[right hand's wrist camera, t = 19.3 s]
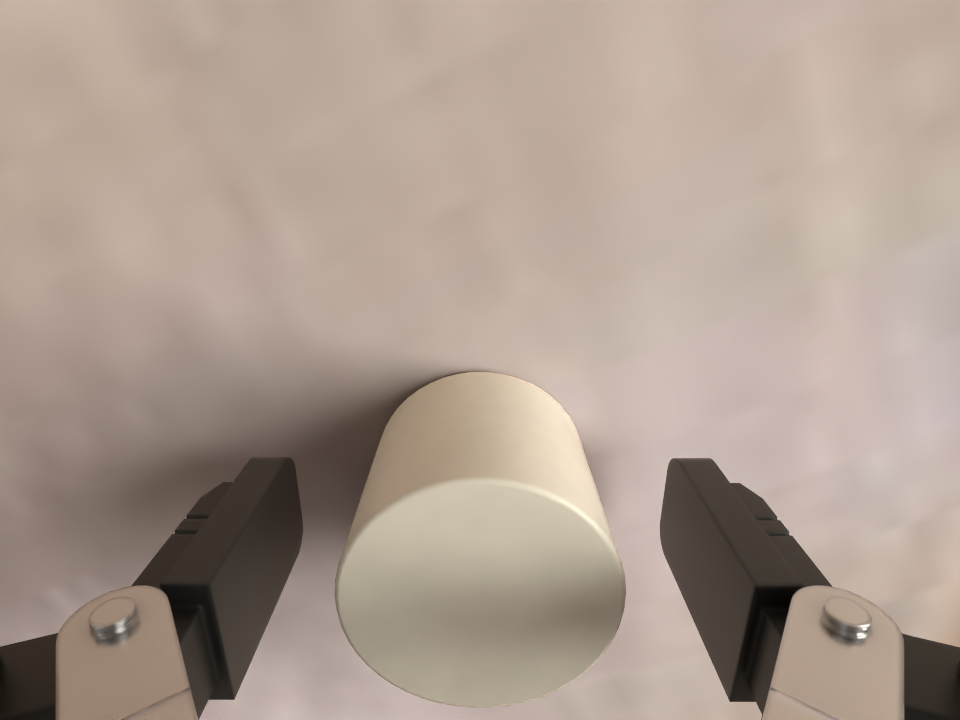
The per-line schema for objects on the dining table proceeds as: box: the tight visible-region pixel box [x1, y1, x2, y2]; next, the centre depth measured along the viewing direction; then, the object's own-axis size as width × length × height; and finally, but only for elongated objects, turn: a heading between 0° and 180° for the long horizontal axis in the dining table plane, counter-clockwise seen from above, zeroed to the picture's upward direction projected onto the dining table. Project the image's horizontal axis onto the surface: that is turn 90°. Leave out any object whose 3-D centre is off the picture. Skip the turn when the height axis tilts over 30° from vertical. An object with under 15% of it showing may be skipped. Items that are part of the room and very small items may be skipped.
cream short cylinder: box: [335, 372, 626, 707], centre depth 11 cm, size 5×5×4 cm
